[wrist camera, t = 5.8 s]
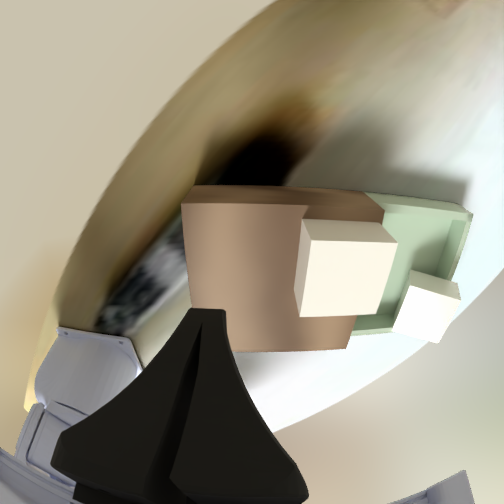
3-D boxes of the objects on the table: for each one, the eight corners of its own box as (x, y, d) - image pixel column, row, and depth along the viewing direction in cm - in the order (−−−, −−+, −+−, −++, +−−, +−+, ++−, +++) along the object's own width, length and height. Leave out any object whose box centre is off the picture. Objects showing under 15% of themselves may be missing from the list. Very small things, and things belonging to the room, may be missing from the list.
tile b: (293, 289, 16) (299, 317, 14) (301, 218, 14) (311, 240, 12) (362, 288, 16) (375, 314, 14) (378, 222, 14) (398, 243, 12)
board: (204, 318, 22) (198, 349, 19) (193, 185, 17) (180, 203, 14) (335, 318, 22) (345, 348, 19) (362, 191, 17) (385, 210, 14)
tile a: (438, 343, 18) (437, 324, 20) (460, 300, 16) (457, 283, 18) (391, 330, 20) (394, 312, 22) (409, 285, 18) (410, 269, 19)
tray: (335, 318, 22) (341, 336, 20) (362, 191, 17) (376, 202, 15) (419, 312, 22) (429, 327, 21) (457, 203, 17) (473, 214, 15)
